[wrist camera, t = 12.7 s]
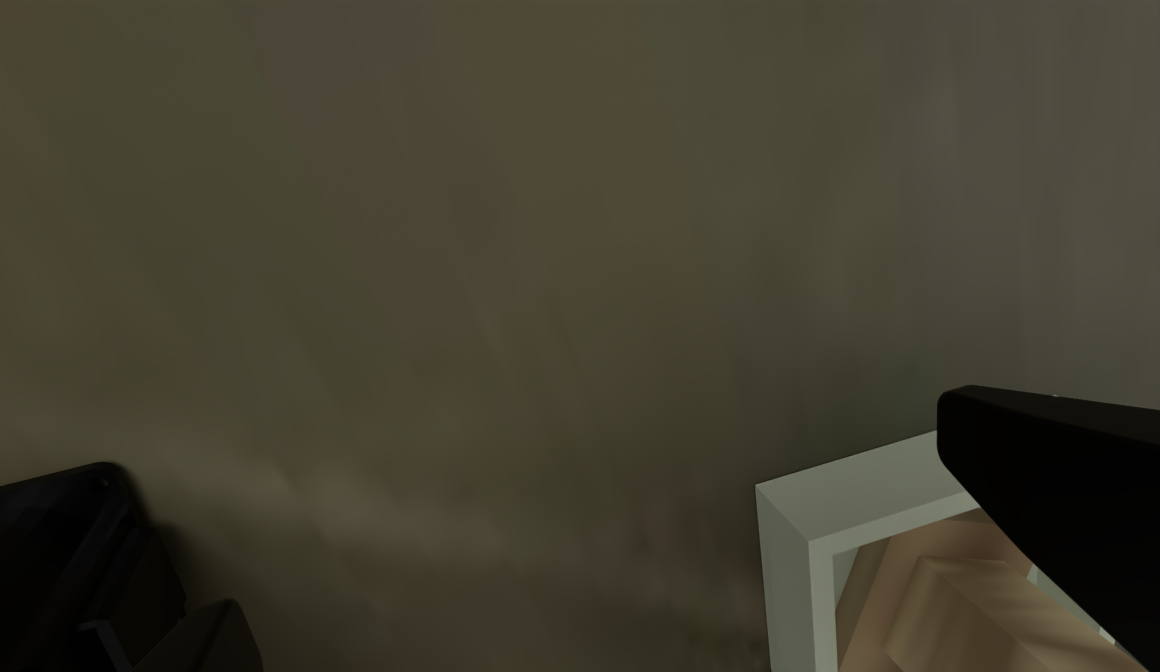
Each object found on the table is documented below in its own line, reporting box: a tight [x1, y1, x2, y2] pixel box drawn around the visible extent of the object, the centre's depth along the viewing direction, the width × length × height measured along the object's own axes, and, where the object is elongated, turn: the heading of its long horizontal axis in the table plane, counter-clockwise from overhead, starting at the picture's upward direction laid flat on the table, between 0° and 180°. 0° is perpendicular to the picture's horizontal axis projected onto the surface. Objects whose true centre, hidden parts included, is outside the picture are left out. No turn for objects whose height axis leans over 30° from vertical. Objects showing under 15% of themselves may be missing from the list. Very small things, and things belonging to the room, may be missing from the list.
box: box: [755, 395, 1115, 672], centre depth 28 cm, size 13×13×4 cm
